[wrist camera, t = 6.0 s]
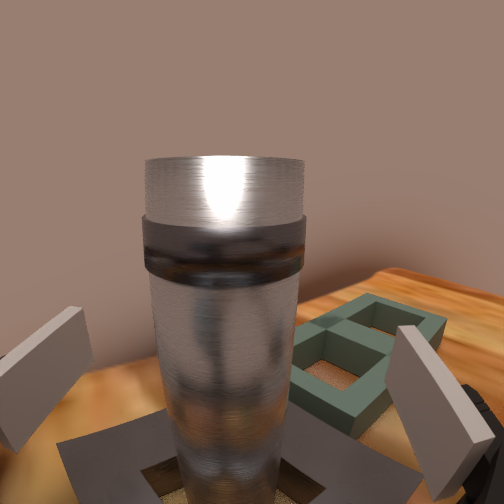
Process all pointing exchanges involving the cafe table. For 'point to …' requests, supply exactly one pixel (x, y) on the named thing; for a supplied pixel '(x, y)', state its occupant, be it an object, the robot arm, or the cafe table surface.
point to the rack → (354, 359)
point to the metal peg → (225, 314)
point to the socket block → (289, 477)
